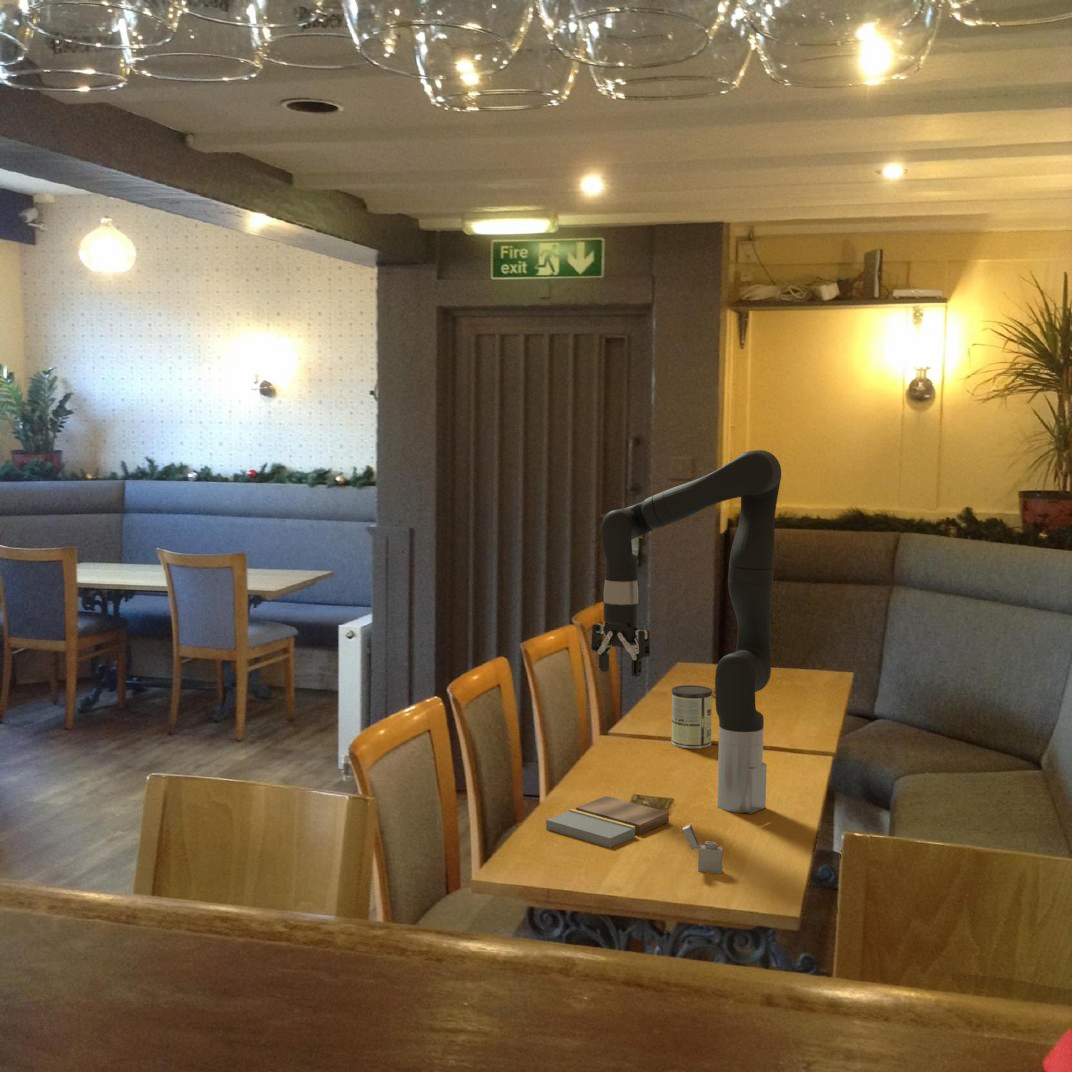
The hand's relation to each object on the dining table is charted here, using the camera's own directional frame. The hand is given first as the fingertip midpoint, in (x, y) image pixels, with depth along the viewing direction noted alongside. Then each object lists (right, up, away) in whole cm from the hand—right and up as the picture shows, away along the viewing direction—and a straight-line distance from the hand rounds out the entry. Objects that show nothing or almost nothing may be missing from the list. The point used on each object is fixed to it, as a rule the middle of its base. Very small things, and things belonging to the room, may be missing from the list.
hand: (619, 673), depth 259 cm
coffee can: (+21, -23, +42) cm, 52 cm away
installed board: (-8, -28, -26) cm, 39 cm away
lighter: (+12, -31, -45) cm, 55 cm away
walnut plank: (-1, -28, -18) cm, 33 cm away
